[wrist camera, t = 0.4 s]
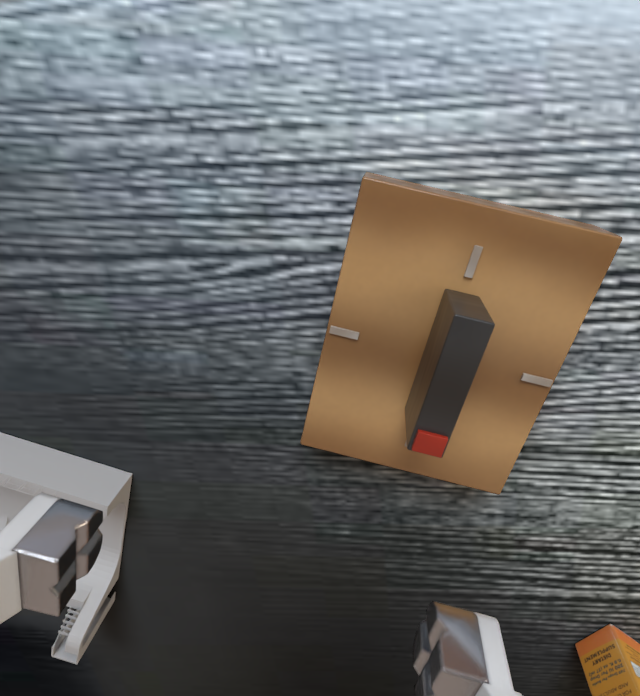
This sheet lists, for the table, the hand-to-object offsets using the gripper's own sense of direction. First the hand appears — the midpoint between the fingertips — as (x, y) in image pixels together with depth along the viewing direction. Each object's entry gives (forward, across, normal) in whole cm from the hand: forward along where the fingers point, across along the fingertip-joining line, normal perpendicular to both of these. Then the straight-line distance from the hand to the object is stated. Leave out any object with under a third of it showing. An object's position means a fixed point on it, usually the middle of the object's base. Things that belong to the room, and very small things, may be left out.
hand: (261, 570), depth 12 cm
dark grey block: (+13, -5, -1) cm, 14 cm away
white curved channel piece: (+16, +18, +20) cm, 32 cm away
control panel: (+16, -5, -1) cm, 17 cm away
